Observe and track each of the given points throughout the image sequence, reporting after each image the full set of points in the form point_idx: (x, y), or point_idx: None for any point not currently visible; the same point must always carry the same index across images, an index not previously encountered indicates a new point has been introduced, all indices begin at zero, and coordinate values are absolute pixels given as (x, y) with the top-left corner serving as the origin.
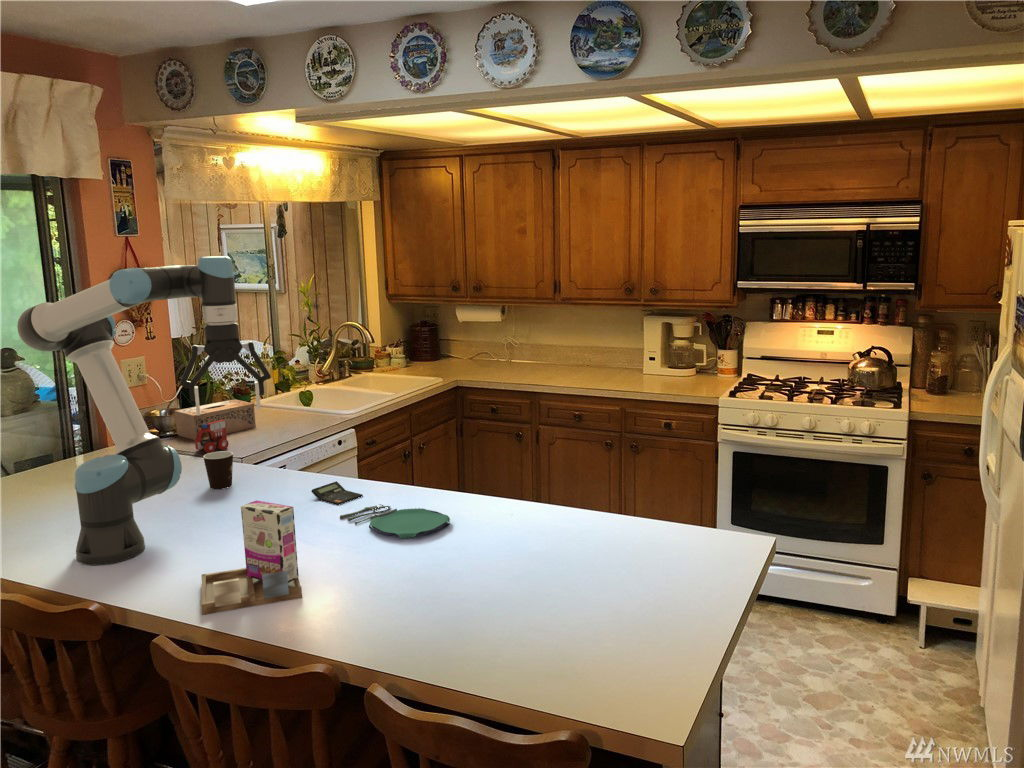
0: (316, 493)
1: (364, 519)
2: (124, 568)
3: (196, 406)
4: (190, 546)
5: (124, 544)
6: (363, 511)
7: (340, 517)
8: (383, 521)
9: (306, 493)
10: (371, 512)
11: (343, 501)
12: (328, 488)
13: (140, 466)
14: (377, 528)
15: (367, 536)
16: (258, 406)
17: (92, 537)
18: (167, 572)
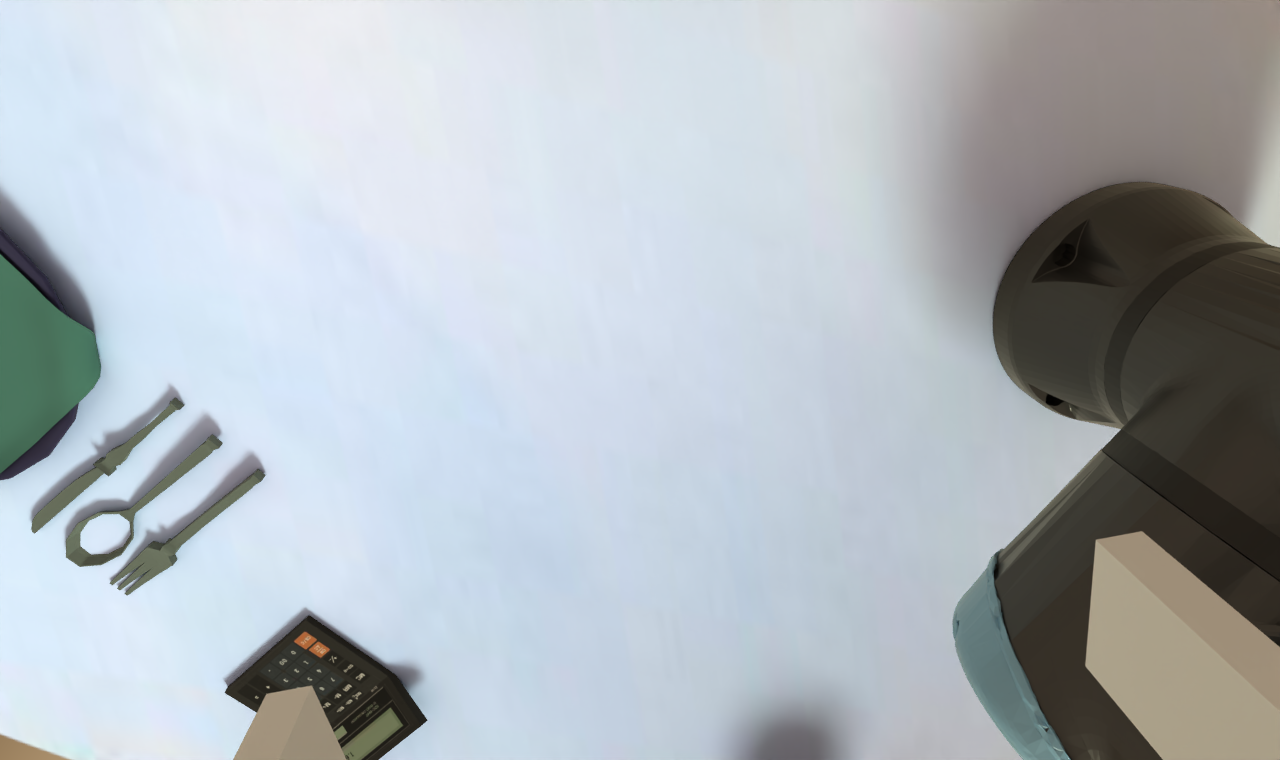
0: (404, 704)
1: (144, 434)
2: (1055, 128)
3: (1244, 625)
4: (826, 306)
5: (1090, 240)
6: (180, 532)
7: (258, 474)
8: (37, 381)
9: (460, 742)
10: (137, 510)
11: (288, 637)
12: (364, 742)
13: (1218, 545)
14: (26, 280)
15: (87, 256)
16: (274, 730)
17: (1244, 230)
18: (890, 37)
